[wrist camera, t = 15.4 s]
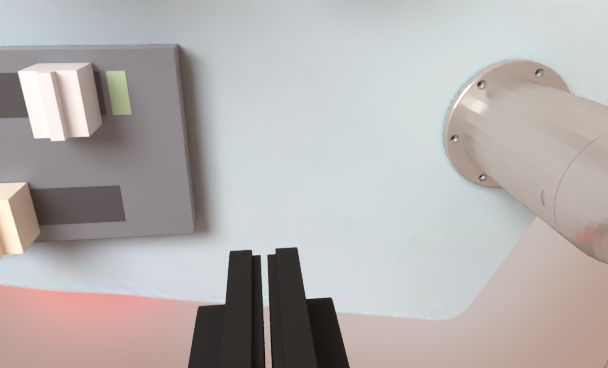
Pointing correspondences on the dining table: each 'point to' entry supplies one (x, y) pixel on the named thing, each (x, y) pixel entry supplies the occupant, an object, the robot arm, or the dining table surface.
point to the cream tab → (16, 218)
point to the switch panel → (104, 146)
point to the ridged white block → (61, 100)
